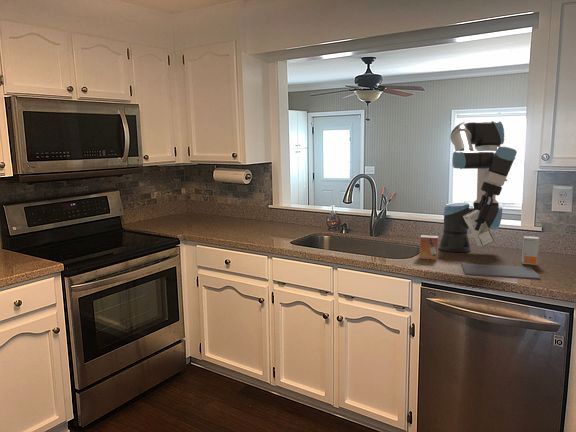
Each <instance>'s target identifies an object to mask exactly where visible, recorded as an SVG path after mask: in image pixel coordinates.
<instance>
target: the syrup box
mask: <svg viewBox="0 0 576 432" xmlns="http://www.w3.org/2000/svg"><path fill="white" fill-rule="evenodd" d="M479 213H480V211H479V210H474V211H472V212H470V213H468V214H466V215H464V216H463V218H464V220H465V222H466V224H467V226H468V228H469V229H468V231H469V230H470V232H472V229H473V227H474V224H475V220H477V219H478V216H479ZM473 240H474V242H475V244H476V246H477V247H481V248H484V247H485V246H488V245H490V244H492V243H494V242H495V239H494V237H493V235H492V232H491V230H489V228H488V226H487V224H486V222H484V223H483V224H482V227H481V229H480V231H479V234H478V236H477V239H476V238H473Z"/></svg>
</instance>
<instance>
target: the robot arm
mask: <svg viewBox="0 0 576 432" xmlns="http://www.w3.org/2000/svg"><path fill="white" fill-rule="evenodd" d="M449 138H450V141H451V143H452V145H453V147H454V150H455V151H454V152H453V153H452V161H451V162H452V164H451V165H452V167H453V169H460V170H463V169H464V170H465V169H466V170H467V169H469V170H470V169H476V170H477V180H476V199H475V200H474V201H473V202H472V203H473V205H470V203H469V202H454V203H450V204H447V205H445V206H444V208H443V209H444V211H443V228H442V229H443V230H442V236H441V238H440V240H439V242H438V250H441V251H444V252H450V253H468V252H471V243H470V239H469V238H470V237H471V238H473V239H474V238H476V239H477V236H478V234H479V231H480V229H481V227H482V224H483V223H484V222H486V224H487V226H488V228H489V230H490V231H496V230H498V229H499V227H500V225H501V222H502V218H503V207H502V206H500V202H498V201H497V199H496V196H500V195H501V192H502V189H503V186H504V185H505V182H507V181H508V178H507V177H508V174H509V173H510V170H511V169H512V166H513V164H514V161H515V159H516V156H517V152H518V151H517V150H516V149H514V148H512V147H508V146H505V145H504V143H505V129H504V125H503V123H502V121H500V120H493V119H489V120H468V121H464V122H461V123H459V124H458V125H456V126H455V127H454V128H453V129H452V130H451V133H450V137H449ZM473 145H474V148H473ZM474 149H475V150H474ZM474 210H479V211H480V213H479V216H478V219H477V220H475V224H474V227H473V229H472V232H470V230H469V228H468V226H467V224H466V222H465V220H464V218H463V216H464V215H466V214H468V213H470V212H472V211H474ZM468 235H469V236H468Z"/></svg>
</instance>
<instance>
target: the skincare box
mask: <svg viewBox="0 0 576 432" xmlns="http://www.w3.org/2000/svg"><path fill="white" fill-rule="evenodd" d="M522 238H523V239H522V248H521V261H520V262H521V264H522V265H531V266H538V260H539V259H538V257H539V247H540V237H538V236H530V235H529V236H525V235H524V236H522Z"/></svg>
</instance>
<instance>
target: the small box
mask: <svg viewBox="0 0 576 432" xmlns="http://www.w3.org/2000/svg"><path fill="white" fill-rule="evenodd" d="M419 240H420V241H419V257H418V258H419V259H421V260H422V259H424V260H430V259H431V261H438V252H439V251H438V250H439V235H426V234H421V235H420V239H419Z"/></svg>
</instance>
